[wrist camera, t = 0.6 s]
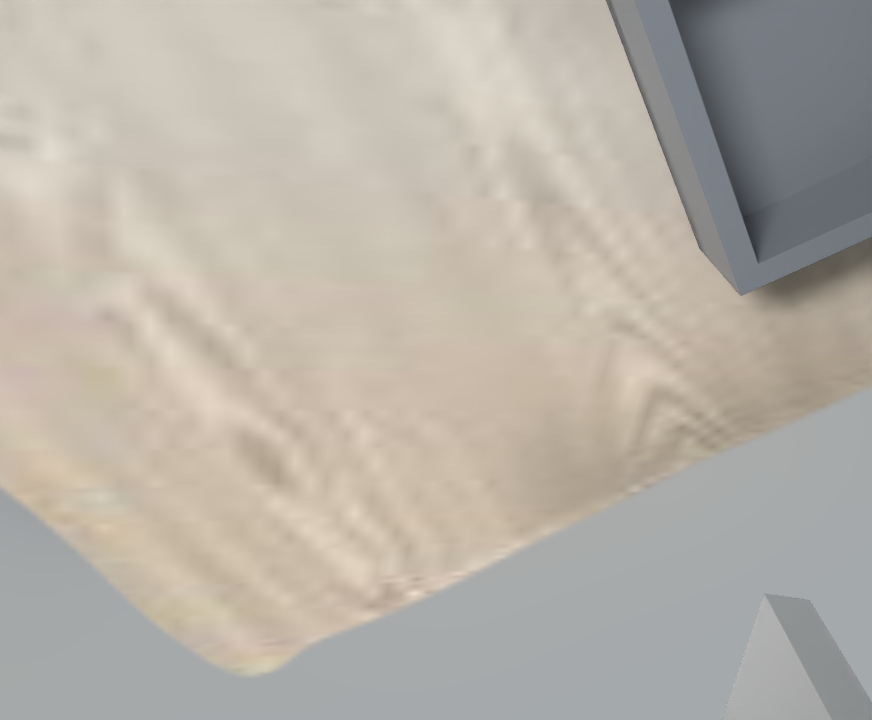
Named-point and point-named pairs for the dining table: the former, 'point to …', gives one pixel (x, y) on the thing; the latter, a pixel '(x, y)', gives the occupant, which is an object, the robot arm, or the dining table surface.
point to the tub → (760, 124)
